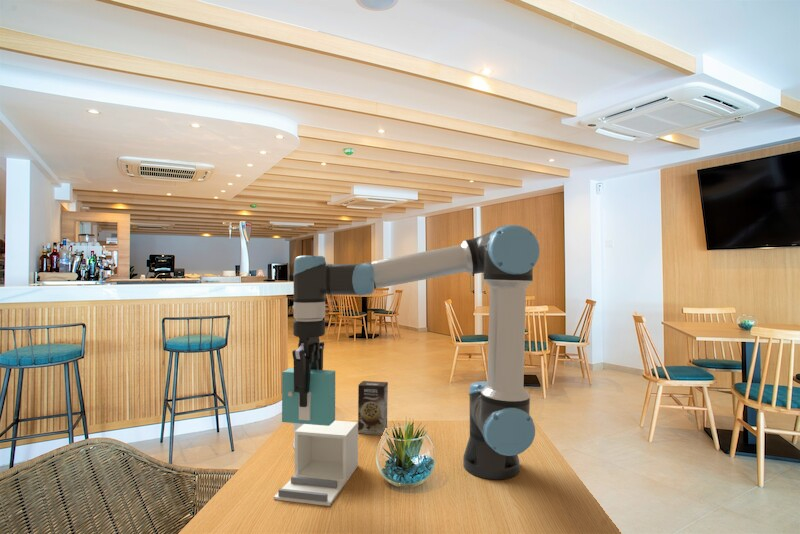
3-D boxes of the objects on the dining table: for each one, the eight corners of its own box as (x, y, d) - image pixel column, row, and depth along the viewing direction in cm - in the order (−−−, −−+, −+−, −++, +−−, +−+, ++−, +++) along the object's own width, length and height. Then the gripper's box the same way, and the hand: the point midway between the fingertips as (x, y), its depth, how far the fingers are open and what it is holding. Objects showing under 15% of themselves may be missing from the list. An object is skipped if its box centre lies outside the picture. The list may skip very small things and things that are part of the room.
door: (335, 420, 104) (335, 370, 105) (328, 426, 100) (328, 375, 100) (289, 416, 107) (289, 368, 107) (280, 423, 102) (280, 372, 103)
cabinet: (357, 465, 119) (357, 422, 119) (329, 506, 98) (329, 453, 98) (310, 461, 122) (310, 418, 122) (273, 499, 101) (273, 448, 101)
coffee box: (357, 433, 142) (357, 384, 143) (362, 426, 149) (362, 380, 149) (384, 435, 141) (384, 386, 141) (388, 428, 147) (388, 381, 147)
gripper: (309, 315, 113) (309, 404, 113) (277, 323, 97) (277, 427, 96) (336, 316, 112) (336, 406, 111) (309, 323, 95) (308, 430, 95)
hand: (308, 416), depth 104 cm, fingers closed on door, 4 cm apart
